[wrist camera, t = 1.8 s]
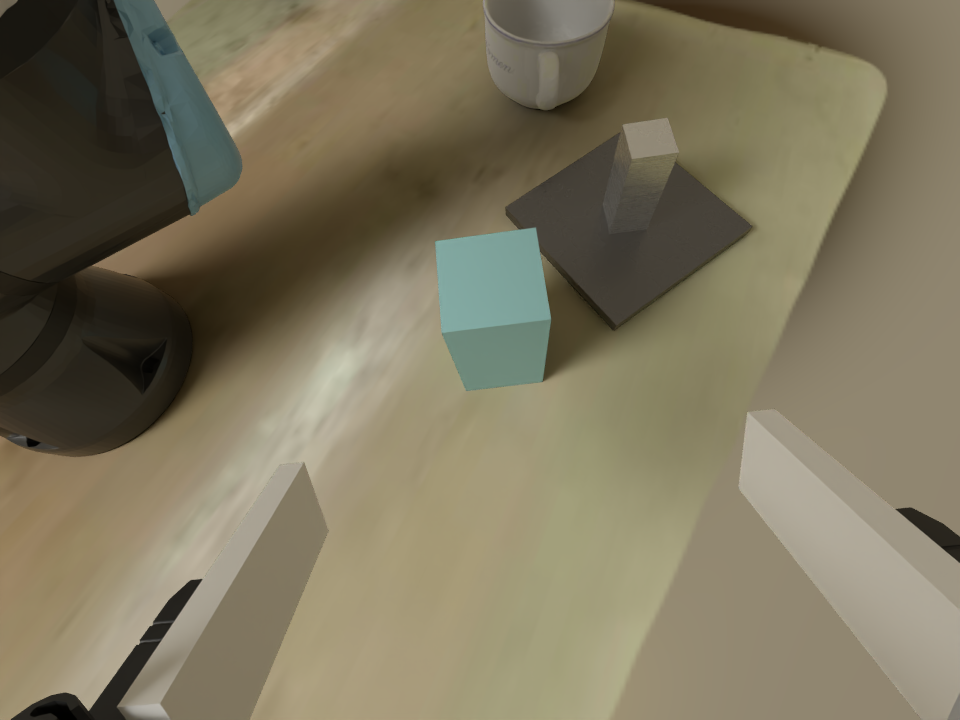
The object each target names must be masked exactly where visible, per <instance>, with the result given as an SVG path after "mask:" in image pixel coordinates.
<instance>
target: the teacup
mask: <svg viewBox="0 0 960 720" xmlns="http://www.w3.org/2000/svg"><path fill="white" fill-rule="evenodd" d="M614 6H615V0H483V9H484V14H485V36H486V52H487V62H488V67H489V71H490V74H491V77H492V79H493V81H494V83H495V84H496V86H497V87H498V89H499V90H500V91H501V92H502V93H503V94H504V95H506V96H507V97H508V98H510V99H512V100H514V101H516V102H517V103H519V104H521V105H523V106H526V107H530V108H536V109H542V110H551V109H553V108H555V107H556V106H558V105H561V104H563V103H566V102H568V101H570V100H572V99H574V98H575V97H577V96H578V95H580V94H581V93H582V92H583V91H584V90H585V89H586V88H587V87H588V85H589V84H590V82H591V81H592V79H593V77H594V75H595V73H596V71H597V68H598V65H599V62H600V59H601V55H602V52H603V48H604V44H605V40H606V35H607V31H608V27H609V22H610V19H611V17H612V15H613V11H614Z"/></svg>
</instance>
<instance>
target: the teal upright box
mask: <svg viewBox="0 0 960 720" xmlns="http://www.w3.org/2000/svg"><path fill="white" fill-rule="evenodd" d="M435 246H436V260H437V274H438V288H439V302H440V316H441V330H442V335H443V337H444V339H445V342H446V344H447V347H448V349H449V351H450V354H451V356H452V358H453V361H454V363H455V365H456V368H457V370H458V373H459V375H460V377H461V380H462V382H463V384H464V387H465V389H466V391H470V390H478V389H487V388H495V387H504V386H512V385H521V384H529V383H538V382H543V375H544V368H545V360H546V353H547V346H548V339H549V331H550V324H551V315H550V309H549V303H548V297H547V291H546V285H545V279H544V273H543V268H542V262H541V256H540V250H539V244H538V238H537V232H536V228H529V229H521V230H514V231H507V232H499V233H492V234H484V235H477V236H470V237H462V238H455V239H448V240H440V241H435Z"/></svg>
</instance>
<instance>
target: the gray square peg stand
mask: <svg viewBox="0 0 960 720" xmlns="http://www.w3.org/2000/svg"><path fill="white" fill-rule="evenodd" d="M678 154H679V151H678V148H677V145H676V142H675V138H674V135H673V132H672V129H671V126H670V123H669V120H668V118H663V119H656V120H650V121H643V122H636V123H629V124H622V128H621V132H620V133H618V134H617V135H615V136H614V137H612V138H611V139H609V140H608V141H606V142H605V143H603V144H602V145H600V146H598V147H597V148H595V149H594V150H592V151H591V152H589V153H588V154H586V155H585V156H583V157H582V158H580V159H579V160H577V161H575V162H574V163H572V164H571V165H569V166H568V167H566V168H565V169H563V170H562V171H560V172H559V173H557V174H556V175H554V176H553V177H551V178H549V179H548V180H546V181H545V182H543V183H542V184H540V185H539V186H537V187H536V188H534V189H533V190H531V191H530V192H528V193H526V194H525V195H523V196H522V197H520V198H519V199H517V200H516V201H514V202H513V203H511V204H510V205H508V206H507V207H505V208H506V216H507V217H508V218H509V219H510V220H511V221H512V222H513V223H514V224H515V225H516V226H517V227H518V228H519V229H520V230H521V229H529V228H536V232H537V238H538V244H539V250H540V252H541V253H542V254H543V255H544V256H545V257H546V258H547V259H548V260H549V262H550V263H551V264H552V265H553V266H554V267H555V268H556V269H557V270H558V271H559V272H560V273H561V274H562V275H563V277H564V278H565V279H566V280H567V281H568V282H569V283H570V284H571V285H572V286H573V287H574V288H575V289H576V290H577V292H578V293H579V294H580V295H581V296H582V297H583V298H584V299H585V300H586V301H587V302H588V303H589V304H590V305H591V307H592V308H593V309H594V310H595V311H596V312H597V313H598V314H599V315H600V316H601V317H602V318H603V319H604V320H605V322H606V323H607V324H608V325H609V326H610V327H611V328H612V329H613V330H615V329H617V328H618V327H620V326H621V325H622V324H624V323H625V322H626V321H628V320H629V319H631V318H632V317H633V316H635V315H636V314H637V313H639V312H640V311H642V310H643V309H644V308H646V307H647V306H648V305H650V304H651V303H653V302H654V301H655V300H657V299H658V298H659V297H661V296H662V295H664V294H665V293H666V292H668V291H669V290H670V289H672V288H673V287H675V286H676V285H677V284H679V283H680V282H681V281H683V280H684V279H686V278H687V277H688V276H690V275H691V274H692V273H694V272H695V271H697V270H698V269H699V268H701V267H702V266H703V265H705V264H706V263H708V262H709V261H710V260H712V259H713V258H714V257H716V256H717V255H719V254H720V253H721V252H723V251H724V250H725V249H727V248H728V247H730V246H731V245H732V244H734V243H735V242H736V241H738V240H739V239H741V238H742V237H743V236H745V235H746V234H747V233H748V232H749V230H750V229H751V228H752V226H751V225H750V224H749V223H748V222H747V221H745V220H744V219H743V218H742V217H741V216H739V215H738V214H737V213H736V212H734V211H733V210H732V209H731V208H730V207H728V206H727V205H726V204H725V203H724V202H722V201H721V200H720V199H719V198H718V197H716V196H715V195H714V194H713V193H712V192H710V191H709V190H708V189H707V188H706V187H704V186H703V185H702V184H701V183H700V182H698V181H697V180H696V179H695V178H694V177H692V176H691V175H690V174H689V173H688V172H686V171H685V170H684V169H683V168H682V167H680V166H679V165H678V164H677V163H676V162H675V161H676V158H677V156H678Z"/></svg>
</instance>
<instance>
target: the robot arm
mask: <svg viewBox="0 0 960 720" xmlns="http://www.w3.org/2000/svg"><path fill="white" fill-rule="evenodd" d="M241 171H242V159H241V155H240V153H239V151H238V148H237V147H236V145H235V143H234V141H233V139H232V137H231V136H230V134H229V132H228V130H227V128H226V127H225V125H224V123H223V121H222V120H221V118H220V116H219V114H218V112H217V111H216V109H215V107H214V105H213V104H212V102H211V100H210V98H209V97H208V95H207V93H206V91H205V90H204V88H203V86H202V84H201V83H200V81H199V79H198V77H197V75H196V74H195V72H194V70H193V69H192V67H191V65H190V63H189V62H188V60H187V58H186V56H185V55H184V53H183V51H182V50H181V48H180V46H179V44H178V43H177V41H176V39H175V37H174V35H173V33H172V31H171V30H170V28H169V26H168V25H167V23H166V21H165V19H164V18H163V16H162V14H161V12H160V10H159V8H158V7H157V5H156V3H155V1H154V0H0V436H2V437H4V438H6V439H8V440H9V441H11V442H13V443H15V444H17V445H19V446H21V447H23V448H26V449H29V450H33V451H36V452H42V453H48V454H55V455H61V456H70V457H81V456H90V455H95V454H99V453H103V452H106V451H109V450H111V449H114V448H116V447H118V446H120V445H122V444H124V443H126V442H128V441H129V440H131V439H133V438H134V437H136V436H137V435H139V434H140V433H141V432H143V431H144V430H145V429H147V428H148V427H149V426H150V425H151V424H152V423H153V422H154V421H155V420H156V419H157V418H158V417H159V416H160V415H161V414H162V413H163V412H164V411H165V410H166V408H167V407H168V406H169V404H170V403H171V402H172V400H173V399H174V397H175V396H176V394H177V392H178V391H179V389H180V387H181V385H182V383H183V381H184V378H185V376H186V373H187V370H188V367H189V363H190V359H191V353H192V333H191V328H190V324H189V321H188V319H187V316H186V314H185V312H184V311H183V309H182V308H181V306H180V305H179V304H178V303H177V302H176V301H175V300H174V299H173V298H171V297H170V296H169V295H167V294H166V293H164V292H163V291H161V290H159V289H158V288H156V287H155V286H153V285H152V284H150V283H148V282H146V281H144V280H142V279H140V278H137V277H134V276H130V275H127V274H120V273H117V272H114V271H110V270H106V269H103V268H99V267H95V266H92V265H93V264H95V263H97V262H99V261H101V260H103V259H105V258H107V257H109V256H111V255H113V254H115V253H116V252H118V251H120V250H122V249H124V248H126V247H128V246H130V245H132V244H134V243H136V242H138V241H139V240H141V239H143V238H145V237H147V236H149V235H151V234H153V233H155V232H157V231H159V230H161V229H162V228H164V227H166V226H168V225H170V224H172V223H174V222H176V221H178V220H180V219H182V218H184V217H185V216H187V215H191V216H193V215H195V214H196V212H198V211H199V208H200V207H201V206H202V205H204V204H206V203H207V202H209V201H210V200H212V199H214V198H215V197H217V196H219V195H220V194H222V193H224V192H225V191H227V190H229V189H230V188H232V187H233V186H234V185H235V184H236V183H237V181H238V180H239V178H240V174H241ZM738 488H739V490H740V491H741V492H742V493H743V495H744V496H745V497H746V498H747V500H748V501H749V502H750V504H751V505H752V506H753V507H754V509H755V510H756V511H757V512H758V514H759V515H760V516H761V517H762V519H763V520H764V521H765V523H766V524H767V525H768V526H769V528H770V529H771V530H772V531H773V533H774V534H775V535H776V536H777V538H778V539H779V540H780V541H781V543H782V544H783V545H784V546H785V548H786V549H787V550H788V552H789V553H790V554H791V555H792V557H793V558H794V559H795V560H796V562H797V563H798V564H799V566H800V567H801V568H802V569H803V571H804V572H805V573H806V574H807V576H808V577H809V578H810V579H811V581H812V582H813V583H814V584H815V586H816V587H817V588H818V590H819V591H820V592H821V593H822V595H823V596H824V597H825V598H826V600H827V601H828V602H829V603H830V605H831V606H832V607H833V609H834V610H835V611H836V612H837V614H838V615H839V616H840V617H841V619H842V620H843V621H844V622H845V624H846V625H847V626H848V627H849V629H850V630H851V631H852V633H853V634H854V635H855V636H856V638H857V639H858V640H859V641H860V643H861V644H862V645H863V646H864V648H865V649H866V650H867V651H868V653H869V654H870V655H871V657H872V658H873V659H874V660H875V661H876V663H877V664H878V665H879V667H880V668H881V669H882V670H883V672H884V673H885V674H886V675H887V677H888V678H889V679H890V680H891V682H892V683H893V684H894V685H895V687H896V688H897V689H898V691H899V692H900V693H901V694H902V696H903V697H904V698H905V699H906V701H907V702H908V703H909V704H910V706H911V707H912V708H913V710H914V711H915V712H916V713H917V715H918V716H919V717H920V718H921V719H922V720H960V537H959V536H958V535H957V534H955V533H954V532H953V531H952V530H950V529H949V528H948V527H946V526H945V525H944V524H943V523H941V522H939V521H937V520H935V519H933V518H931V517H929V516H927V515H925V514H923V513H921V512H919V511H917V510H915V509H913V508H901V509H894V508H893V507H892V506H891V505H889V504H888V503H887V502H886V501H885V500H883V499H882V498H881V497H880V496H879V495H877V494H876V493H875V492H874V491H873V490H872V489H870V488H869V487H868V486H867V485H866V484H864V483H863V482H862V481H861V480H860V479H858V478H857V477H856V476H855V475H853V474H852V473H851V472H850V471H849V470H848V469H846V468H845V467H844V466H843V465H841V464H840V463H839V462H838V461H837V460H836V459H834V458H833V457H832V456H831V455H829V454H828V453H827V452H826V451H825V450H824V449H822V448H821V447H820V446H819V445H818V444H816V443H815V442H814V441H813V440H812V439H810V438H809V437H808V436H807V435H806V434H804V433H803V432H802V431H801V430H799V429H798V428H797V427H796V426H795V425H794V424H792V423H791V422H790V421H789V420H788V419H787V418H785V417H784V416H783V415H782V414H780V413H779V412H778V411H777V410H776V409H768V410H759V411H750V412H747V419H746V427H745V436H744V444H743V454H742V462H741V470H740V479H739V487H738ZM328 531H329V530H328V528H327V525H326V522H325V519H324V516H323V514H322V511H321V508H320V505H319V502H318V500H317V497H316V494H315V491H314V488H313V486H312V483H311V480H310V477H309V474H308V472H307V469H306V466H305V463H304V462H301V463H292V464H283V465H279V467H278V468H277V470H276V471H275V473H274V474H273V476H272V477H271V479H270V480H269V482H268V483H267V485H266V486H265V488H264V489H263V491H262V492H261V494H260V495H259V496H258V498H257V499H256V501H255V502H254V504H253V505H252V507H251V508H250V510H249V511H248V513H247V514H246V516H245V517H244V519H243V520H242V522H241V523H240V525H239V526H238V528H237V529H236V531H235V532H234V534H233V535H232V537H231V538H230V540H229V541H228V543H227V544H226V546H225V547H224V548H223V550H222V551H221V553H220V554H219V556H218V557H217V559H216V560H215V562H214V563H213V565H212V566H211V568H210V569H209V571H208V572H207V574H206V575H205V577H204V578H203V579H198V580H190V581H189V582H188V583H187V584H186V585H185V586H184V587H183V588H181V589H180V590H179V591H178V592H177V593H176V594H175V595H174V596H173V597H172V598H170V599H169V600H168V602H167V603H166V605H165V606H164V607H163V609H162V610H161V612H160V613H159V614H158V616H157V617H156V619H155V620H154V621H153V626H150V627H149V628H148V630H147V631H146V632H145V634H144V635H143V637H142V638H141V639H140V644H139V645H136V646H135V648H134V649H133V651H132V652H131V653H130V655H129V656H128V657H127V659H126V660H125V662H124V663H123V664H122V666H121V667H120V669H119V670H118V671H117V673H116V674H115V676H114V677H113V678H112V680H111V681H110V683H109V684H108V685H107V687H106V688H105V689H104V691H103V692H102V694H101V695H100V696H99V698H98V699H97V701H96V702H95V703H94V705H93V706H92V708H91V709H90V710H89V711H88V710H87V709H86V708H85V706H84V705H83V704H82V703H81V701H80V700H79V699H78V698H77V697H76V696H75V695H72V694H69V693H61V694H55V695H51V696H49V697H46V698H44V699H42V700H40V701H38V702H36V703H34V704H32V705H31V706H29V707H28V708H26V709H25V710H23V711H22V712H21V713H19V714H18V715H16V716H15V717H13V718H12V719H11V720H250V717H251V715H252V713H253V710H254V708H255V705H256V703H257V701H258V698H259V696H260V694H261V691H262V689H263V686H264V684H265V682H266V679H267V677H268V674H269V672H270V670H271V667H272V665H273V662H274V660H275V658H276V655H277V653H278V651H279V648H280V646H281V643H282V641H283V639H284V636H285V634H286V631H287V629H288V627H289V624H290V622H291V620H292V617H293V615H294V612H295V610H296V608H297V605H298V603H299V600H300V598H301V596H302V593H303V591H304V588H305V586H306V584H307V581H308V579H309V577H310V574H311V572H312V569H313V567H314V565H315V562H316V560H317V557H318V555H319V553H320V550H321V548H322V545H323V543H324V541H325V538H326V536H327V534H328Z"/></svg>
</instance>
